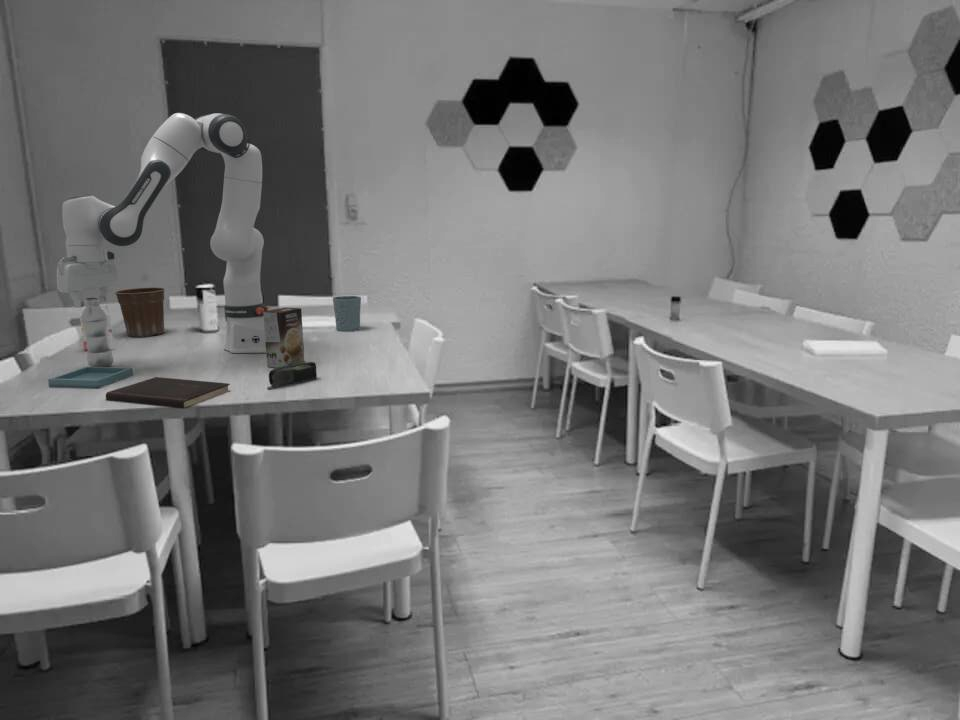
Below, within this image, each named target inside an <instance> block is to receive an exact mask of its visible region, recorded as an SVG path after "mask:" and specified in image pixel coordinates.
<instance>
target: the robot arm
mask: <svg viewBox="0 0 960 720" xmlns="http://www.w3.org/2000/svg"><path fill="white" fill-rule="evenodd" d="M246 130H247V129H246V128H245V126H244V124H243V123H242V122H241V120H240V119H238V118H237V117H236V116H234V115H232V114H227V113H219V112H217V113H211V114H203V115H201V116H199V117H198V116H197V117H196V118H193V117H192V116H190V115H189V114H185V113H182V112H176V113H173V114H172V115H170V116H169V117H168V118H167V119H166V120H165V121H164V122H163V123H162V124H161V125H160V126H159V127H158V128H157V130H156V131H155V132H154V133H153V134H152V136H151V137H150V139H149V141H148V143H147V144H146V147H145V148H144V150H143V152H142V155H141V158H140V172H139V173H138V176H137V177H138V178H137V179H136V181H135V182H134V184H132V186H131V188H130V190H129V191H128V193H127V194H126V196H125V197H124V198H123V199H122V201H121V202H120V203H118V204H117V205H116V206H115V205H112V204H109V203H108V202H105V201H102V200H101V199H99V198H97V197H95V196H94V195H93V194H84V195H76V196H71V197H68V198H67V199H65V200H64V201H63V203H62V211H61V213H62V225H63V226H62V227H63V230H64V233H65V235H66V237H65V238H66V239H65V248H66V256H65V257H61V258H60V260H59V261H58V262H57V267H56V288H57V290H58V291H59V292H60V293H64V294H65V293H66V294H67V293H69V297H70V298H71V299H72V301H73V305H74V308H76V309H77V308H78V309H81V308H84V307H85V301H84V300H82V299H81V298H80V296H81V292H82V291H87V290H94V289H98V290H99V291H100V292H99V296H97V298H99V301H100V304H105V303H107V302H108V294H109V292H110V287H111V286H116V285H118V282H119V272H118V265H117V263H116V261H117V260H116V259H117V253H116V252H114V251H112V250H109V249H107V248H106V247H105V248H104V246H103V241H107V242H108V243H110V244H112V245H114V246H116V247H117V246H118V247H127V246H131V245H133V244H134V243H136V242H137V241H139V239H140V237H141V235H142V232H143V227H144V222H145V221H144V220H145V216H146V215H147V213H148V212H149V210H150V208H151V207H152V206H153V204H154V202H155V201H156V199H157V197H158V196H159V194H160V193H161V191H162V190H163V189H164V188H165V187H166V186H168V184H170V183H171V182H172V181H173V180H174V179H175V178H176V177H177V176H178V175H179V174H181V172H183V170H184V169H185V167H186V166H187V165H188V163H189V162H190V161H191V159H192V157H193V155H194V154H195V153H196V152H197V151H198V150H199V149H201V150H205V151H207V152H213V153H217V154H220V155H221V156H222V158H223V161H224V166H225V167H224V174H223V175H224V176H223V188H222V189H223V190H222V200H221V207H220V211H219V214H218V218H217V221H216V226H215V230H214V232H213V234H212V236H211V237H210V243H209V244H210V249H211V251H212V253H213V254H214V256H215V257H217V258H218V259H220V260H222V261H225V262H226V269H225V274H224V277H223V291H224V292H223V293H224V303H225V305H224V318H225V322H226V334H225V343H224V347H223V348H224V349H223V350H224V351H227V352H230V354H253V353H254V354H256V353H258V354H259V353H260V354H261V353H265V354H266V343H265V329H264V315H263V311H268V310H271V309H270V305H266V304H265V303H263V302H262V301H263V300H262V289H261V267H262V259H263V248H264V243H265V240H264V237H263V234H262V233H261V232H260V231H259V229H257V228H255V222H256V220H257V219H256V218H257V216H258V214H259V211H260V208H261V200H262V199H261V198H262V185H263V161H262V154H261V153H262V152H261V151H260V149H259V148H258V147H257V146H255V145H253V144H251V142H250V139H249V137H248V134H247V131H246ZM115 260H116V261H115Z"/></svg>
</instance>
